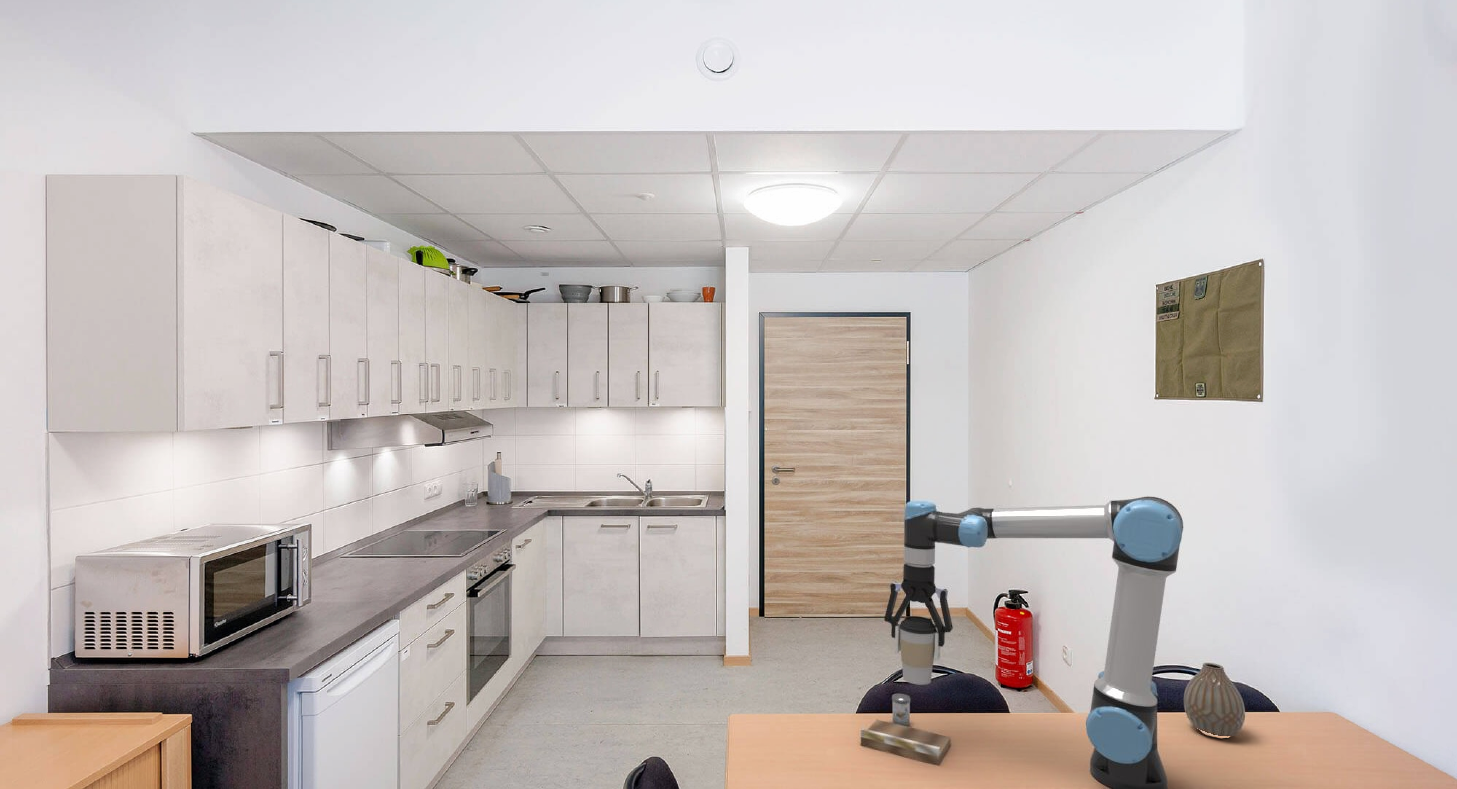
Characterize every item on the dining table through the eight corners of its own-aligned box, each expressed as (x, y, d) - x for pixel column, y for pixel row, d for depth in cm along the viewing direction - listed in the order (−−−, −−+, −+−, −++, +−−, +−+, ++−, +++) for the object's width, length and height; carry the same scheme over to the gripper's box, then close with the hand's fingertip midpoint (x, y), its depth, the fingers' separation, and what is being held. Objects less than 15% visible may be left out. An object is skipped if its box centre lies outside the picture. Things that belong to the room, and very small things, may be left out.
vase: (1172, 725, 184) (1171, 659, 185) (1208, 719, 188) (1207, 654, 188) (1220, 748, 171) (1219, 676, 172) (1258, 741, 175) (1257, 671, 176)
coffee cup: (899, 684, 167) (900, 622, 168) (896, 670, 176) (898, 611, 177) (938, 687, 166) (939, 625, 166) (933, 674, 175) (934, 614, 175)
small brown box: (950, 745, 171) (950, 729, 171) (938, 766, 161) (938, 749, 161) (876, 727, 181) (876, 712, 181) (860, 745, 170) (860, 729, 170)
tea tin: (912, 723, 183) (912, 695, 184) (907, 730, 179) (907, 701, 180) (895, 719, 186) (895, 692, 186) (889, 725, 182) (889, 698, 182)
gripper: (967, 566, 170) (965, 659, 169) (880, 555, 180) (878, 642, 180) (961, 572, 163) (959, 668, 163) (872, 560, 174) (870, 650, 173)
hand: (917, 654), depth 171 cm, fingers closed on coffee cup, 9 cm apart
